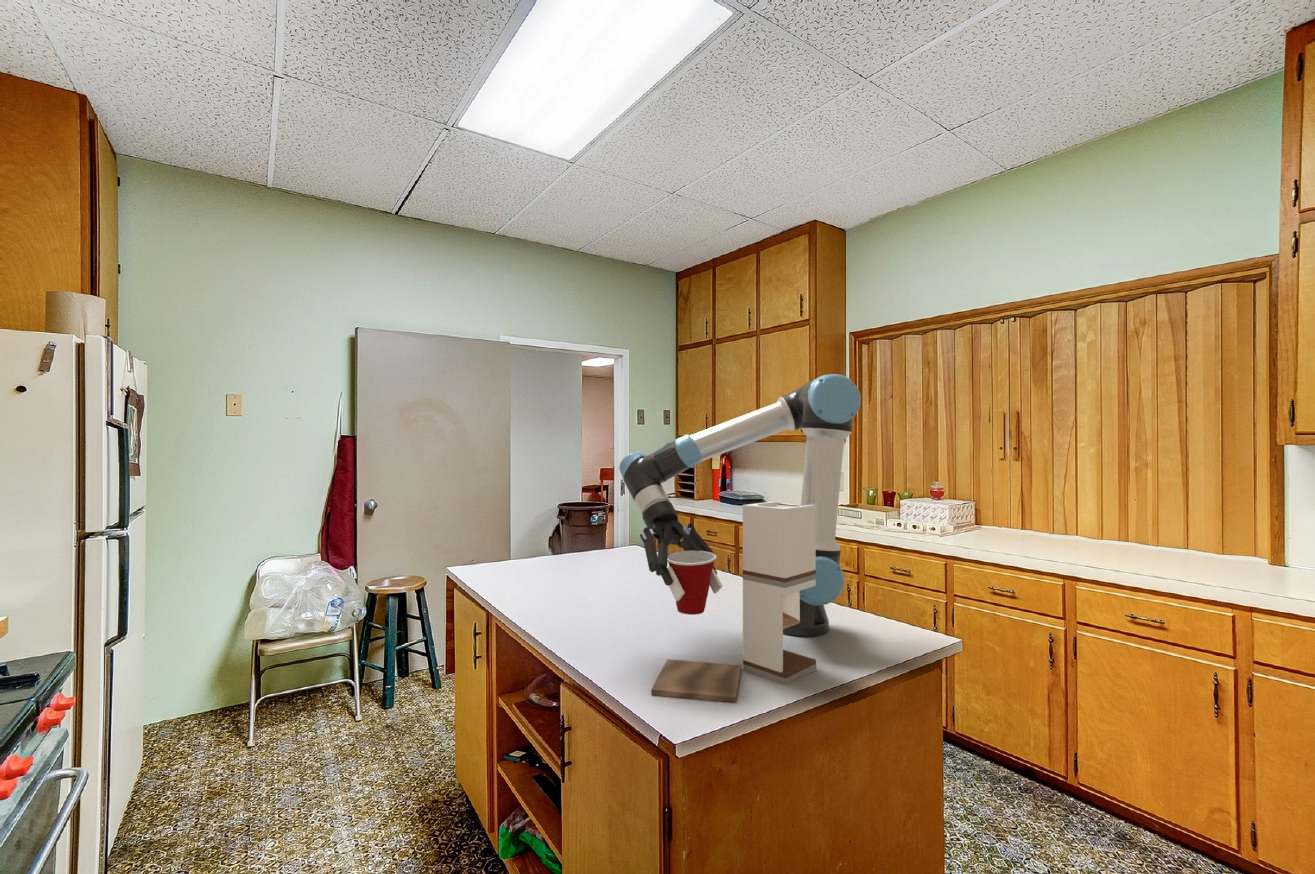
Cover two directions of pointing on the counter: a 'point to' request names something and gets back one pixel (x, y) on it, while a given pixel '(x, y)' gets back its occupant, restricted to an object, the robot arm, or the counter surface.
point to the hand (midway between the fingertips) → (699, 593)
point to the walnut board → (698, 680)
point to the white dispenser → (775, 585)
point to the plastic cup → (692, 578)
